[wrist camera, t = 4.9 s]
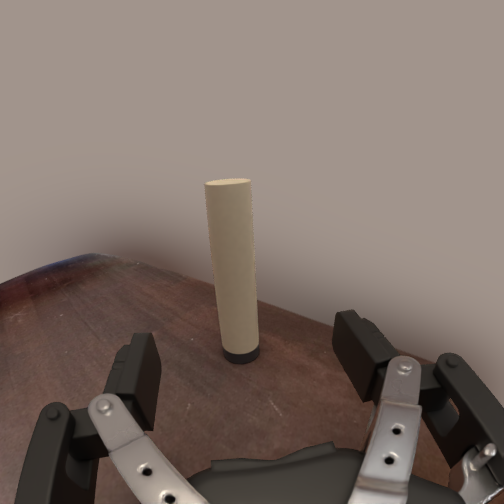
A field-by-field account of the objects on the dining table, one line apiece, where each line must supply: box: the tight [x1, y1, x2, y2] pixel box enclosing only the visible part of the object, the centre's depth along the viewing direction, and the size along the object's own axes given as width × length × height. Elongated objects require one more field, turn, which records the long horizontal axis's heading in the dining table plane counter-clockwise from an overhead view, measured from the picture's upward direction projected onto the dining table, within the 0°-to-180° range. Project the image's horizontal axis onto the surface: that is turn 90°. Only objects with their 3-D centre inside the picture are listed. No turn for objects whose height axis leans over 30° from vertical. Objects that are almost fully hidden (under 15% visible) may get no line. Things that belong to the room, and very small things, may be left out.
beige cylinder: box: [205, 179, 259, 364], centre depth 19 cm, size 3×3×13 cm
